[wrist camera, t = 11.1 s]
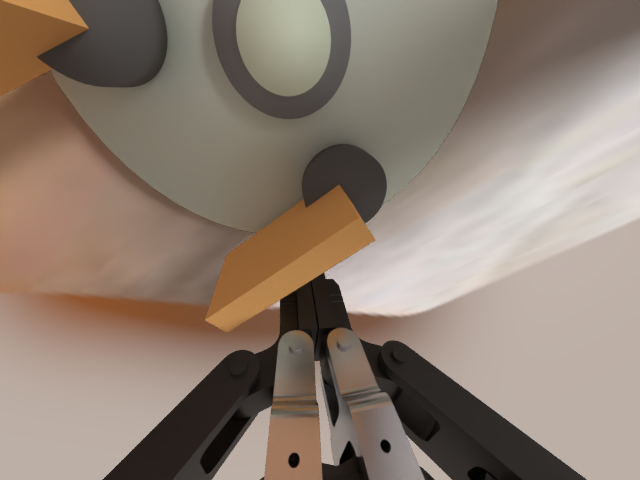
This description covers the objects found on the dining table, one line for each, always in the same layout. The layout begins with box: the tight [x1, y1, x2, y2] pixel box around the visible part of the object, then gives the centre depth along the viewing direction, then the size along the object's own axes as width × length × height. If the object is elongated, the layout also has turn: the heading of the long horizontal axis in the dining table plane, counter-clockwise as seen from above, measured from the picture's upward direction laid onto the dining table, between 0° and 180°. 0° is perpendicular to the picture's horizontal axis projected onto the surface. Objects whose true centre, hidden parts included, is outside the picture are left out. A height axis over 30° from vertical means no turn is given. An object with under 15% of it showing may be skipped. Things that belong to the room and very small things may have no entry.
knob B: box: [205, 144, 387, 333], centre depth 10 cm, size 10×4×4 cm, turn 125°
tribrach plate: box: [50, 0, 498, 233], centre depth 9 cm, size 17×17×3 cm
